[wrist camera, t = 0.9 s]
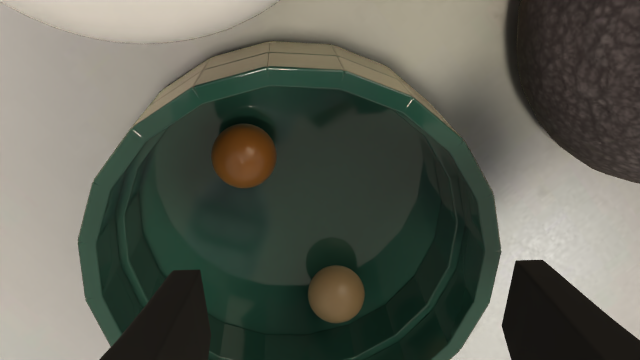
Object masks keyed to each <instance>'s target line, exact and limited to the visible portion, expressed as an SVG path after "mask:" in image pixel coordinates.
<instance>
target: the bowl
mask: <svg viewBox="0 0 640 360" xmlns="http://www.w3.org/2000/svg"><path fill="white" fill-rule="evenodd" d="M236 124H251V125H255V126H257V127H259V128H261V129H263V130H264V131H265V132H266V133H267V134H268V135H269V136H270V137H271V139H272V141H273V142H274V145H275V148H276V154H277V159H276V164H275V168H274V170H273V172H272V173H271V175H270V176H269V177H268V179H266V180H265V181H264V182H263V183H261V184H259V185H257V186H255V187H251V188H237V187H233V186H231V185H229V184H227V183H225V182H224V181H223V180H222V179H221V178H220V177H219V176H218V175H217V173H216V172H215V170H214V168H213V165H212V160H211V152H212V147H213V144H214V142H215V140H216V138H217V137H218V135H219V134H220V133H221V132H222V131H224V130H225V129H226V128H228V127H230V126H233V125H236ZM78 248H79V256H80V263H81V271H82V278H83V285H84V293H85V298H86V302H87V304H88V305H89V307H90V309H91V311H92V313H93V315H94V317H95V318H96V320H97V322H98V324H99V326H100V328H101V330H102V331H103V333H104V335H105V337H106V339H107V341H108V343H109V344H110V346H111V347H112V345H113V344H114V343H115V342H116V341H117V340H118V339H119V337H120V336H121V335H122V334H123V332H124V331H125V330H126V329H127V328H128V326H129V325H130V324H131V323H132V322H133V320H134V319H135V318H136V317H137V316H138V314H139V313H140V312H141V311H142V309H143V308H144V307H145V305H146V304H147V303H148V302H149V300H150V299H151V298H152V296H153V295H154V294H155V292H156V291H157V290H158V289H159V287H160V286H161V285H162V283H163V282H164V281H165V279H166V278H167V277H168V275H169V274H170V273H171V272H172V271H173V270H200V272H201V278H202V283H203V289H204V295H205V301H206V307H207V313H208V319H209V324H210V330H211V339H210V348H209V356H208V360H450V359H451V358H452V357H453V356H455V355H456V354H457V353H458V352H459V351H460V349H461V348H462V347H463V345H464V344H465V342H466V340H467V339H468V337H469V335H470V334H471V332H472V331H473V329H474V327H475V326H476V324H477V322H478V321H479V319H480V318H481V316H482V314H483V313H484V311H485V309H486V308H487V306H488V304H489V303H490V298H491V294H492V290H493V285H494V281H495V277H496V272H497V268H498V264H499V259H500V255H501V244H500V237H499V229H498V222H497V214H496V207H495V199H494V195H493V191H492V189H491V188H490V186H489V184H488V182H487V180H486V178H485V177H484V175H483V173H482V171H481V169H480V168H479V166H478V164H477V162H476V160H475V159H474V157H473V155H472V153H471V151H470V149H469V148H468V146H467V144H466V142H465V141H464V140H463V138H462V137H461V136H460V135H459V134H458V133H457V132H456V131H455V130H454V129H453V128H452V127H451V125H450V124H449V123H448V122H447V121H446V120H445V119H444V118H443V117H442V116H441V115H440V114H439V112H438V111H437V110H436V109H435V108H434V107H433V106H432V105H431V104H430V103H429V102H428V101H427V100H426V99H425V98H424V97H422V96H421V95H420V94H419V93H418V92H417V91H415V90H414V89H413V88H412V87H411V86H410V85H408V84H407V83H406V82H405V81H404V80H403V79H402V78H400V77H399V76H398V75H397V74H396V73H395V72H393V71H392V70H391V69H390V68H389V67H387V66H385V65H383V64H380V63H378V62H375V61H373V60H370V59H368V58H365V57H363V56H360V55H358V54H355V53H352V52H350V51H347V50H345V49H342V48H340V47H337V46H335V45H331V44H315V43H297V42H278V41H271V42H265V43H261V44H258V45H254V46H250V47H247V48H243V49H239V50H236V51H232V52H228V53H225V54H221V55H217V56H214V57H212V58H211V59H207V60H206V61H204V62H203V63H202V64H200V65H199V66H197V67H196V68H194V69H193V70H191V71H190V72H188V73H187V74H185V75H184V76H182V77H181V78H179V79H178V80H176V81H175V82H174V83H172V84H171V85H169V86H168V87H166V88H165V89H163V90H162V91H161V92H160V93H159V94H158V95H157V97H156V98H155V99H154V100H153V102H152V103H151V104H150V105H149V107H148V108H147V109H146V110H145V112H144V113H143V114H142V115H141V116H140V118H139V119H138V120H137V121H136V123H135V124H134V125H133V126H132V128H131V129H130V130H129V132H128V133H127V134H126V136H125V137H124V138H123V140H122V141H121V143H120V144H119V145H118V147H117V148H116V150H115V151H114V152H113V154H112V155H111V156H110V158H109V159H108V161H107V162H106V163H105V165H104V166H103V168H102V169H101V170H100V172H99V173H98V174H97V176H96V177H95V179H94V181H93V183H92V186H91V189H90V193H89V197H88V201H87V205H86V209H85V213H84V217H83V221H82V225H81V229H80V233H79V237H78ZM333 265H340V266H344V267H347V268H349V269H351V270H352V271H354V272H355V273H356V274H357V275H358V276H359V278H360V279H361V281H362V283H363V286H364V292H365V297H364V303H363V305H362V308H361V309H360V311H359V312H358V314H357V315H356V316H355V317H353V318H352V319H350V320H349V321H346V322H343V323H330V322H327V321H324V320H322V319H321V318H319V317H318V316H317V315H316V314H315V313H314V311H313V310H312V308H311V306H310V304H309V300H308V288H309V284H310V282H311V280H312V278H313V277H314V275H315V274H316V273H317V272H319V271H320V270H321V269H323V268H325V267H328V266H333Z"/></svg>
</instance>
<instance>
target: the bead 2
mask: <svg viewBox="0 0 640 360" xmlns="http://www.w3.org/2000/svg"><path fill="white" fill-rule="evenodd" d="M364 297H365V292H364V286H363V283H362V281H361V279H360V278H359V276H358V275H357V274H356V273H355V272H354V271H352V270H351V269H349V268H347V267H344V266H340V265H333V266H328V267H325V268H323V269H321V270H320V271H319V272H317V273H316V274H315V275H314V277H313V278H312V280H311V282H310V284H309V288H308V300H309V304H310V306H311V308H312V310H313V311H314V313H315V314H316V315H317V316H318V317H319V318H321V319H322V320H324V321H327V322H330V323H343V322H346V321H349V320H350V319H352V318H353V317H355V316H356V315H357V314H358V312H359V311H360V309H361V308H362V305H363V303H364Z"/></svg>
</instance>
